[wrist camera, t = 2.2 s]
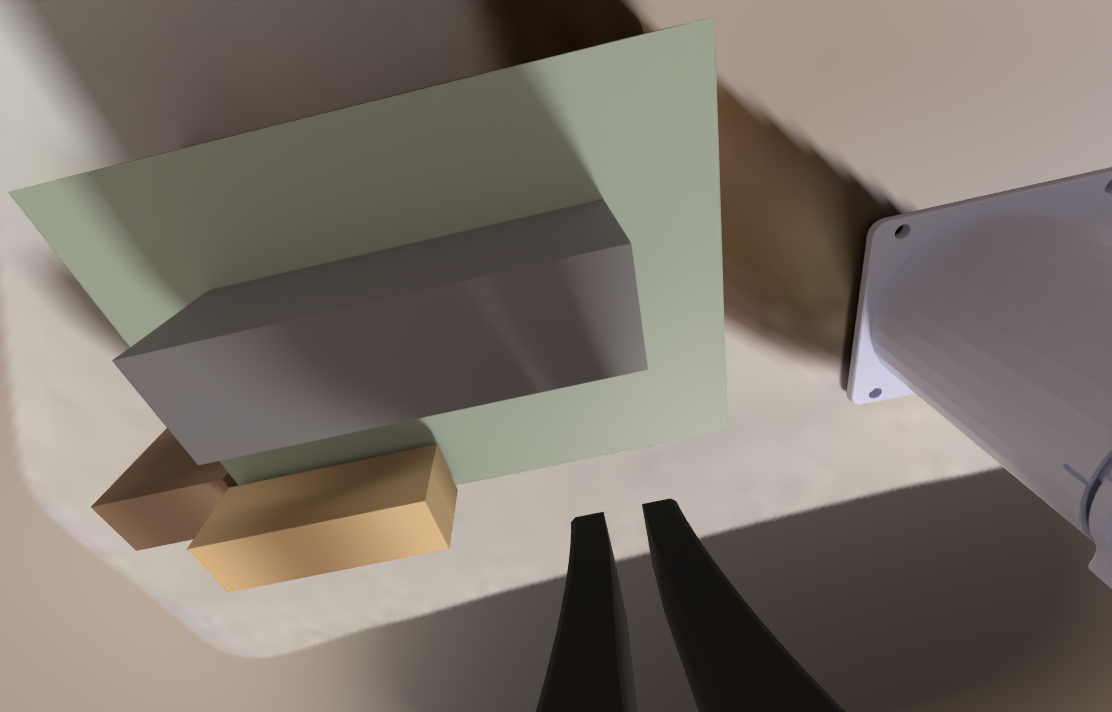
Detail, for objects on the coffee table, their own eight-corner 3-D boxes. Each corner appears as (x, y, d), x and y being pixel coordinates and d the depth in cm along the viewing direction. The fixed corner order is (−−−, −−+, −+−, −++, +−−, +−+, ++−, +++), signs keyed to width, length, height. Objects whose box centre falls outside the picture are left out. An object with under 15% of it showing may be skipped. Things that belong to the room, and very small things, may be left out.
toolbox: (644, 33, 14) (714, 16, 9) (673, 335, 19) (727, 429, 14) (46, 181, 15) (-189, 240, 10) (230, 430, 20) (136, 550, 15)
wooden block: (437, 444, 13) (424, 501, 11) (457, 489, 14) (449, 548, 12) (228, 487, 13) (186, 549, 12) (262, 529, 14) (227, 592, 13)
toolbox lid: (680, 25, 11) (794, -2, 6) (702, 386, 16) (774, 512, 11) (92, 171, 11) (-180, 239, 7) (296, 471, 17) (215, 620, 12)
